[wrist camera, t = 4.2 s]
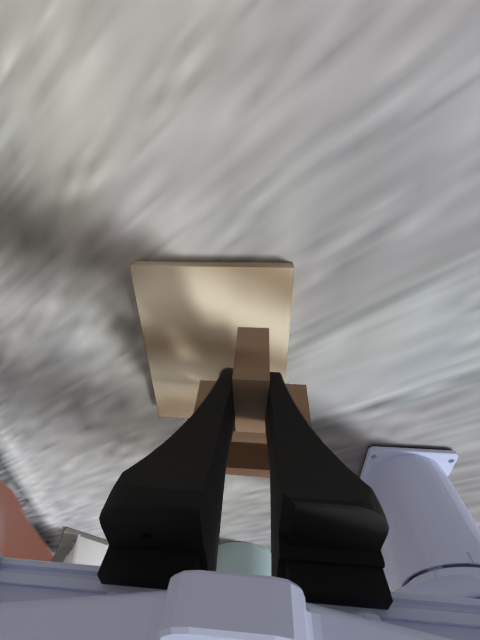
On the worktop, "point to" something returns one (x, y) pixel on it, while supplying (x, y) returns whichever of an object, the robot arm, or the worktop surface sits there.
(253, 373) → the walnut link
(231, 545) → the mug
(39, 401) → the worktop surface
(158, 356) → the birch board
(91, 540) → the skyscraper
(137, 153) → the worktop surface
